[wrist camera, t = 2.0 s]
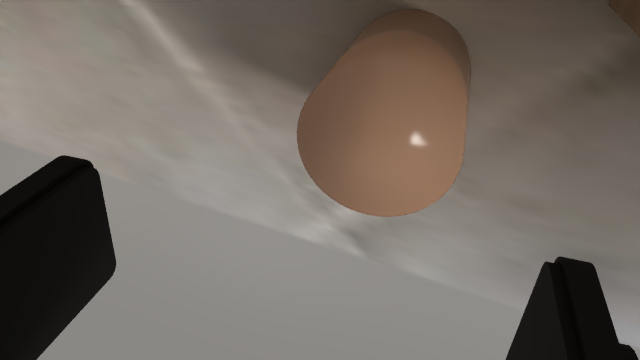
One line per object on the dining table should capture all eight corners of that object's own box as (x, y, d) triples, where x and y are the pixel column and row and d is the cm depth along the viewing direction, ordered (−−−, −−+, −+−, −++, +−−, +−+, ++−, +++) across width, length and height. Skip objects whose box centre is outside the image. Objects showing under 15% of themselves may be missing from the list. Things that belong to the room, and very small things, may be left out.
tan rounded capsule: (484, 18, 19) (483, 79, 13) (456, 137, 22) (445, 231, 16) (354, 1, 20) (300, 51, 14) (343, 116, 23) (293, 198, 17)
